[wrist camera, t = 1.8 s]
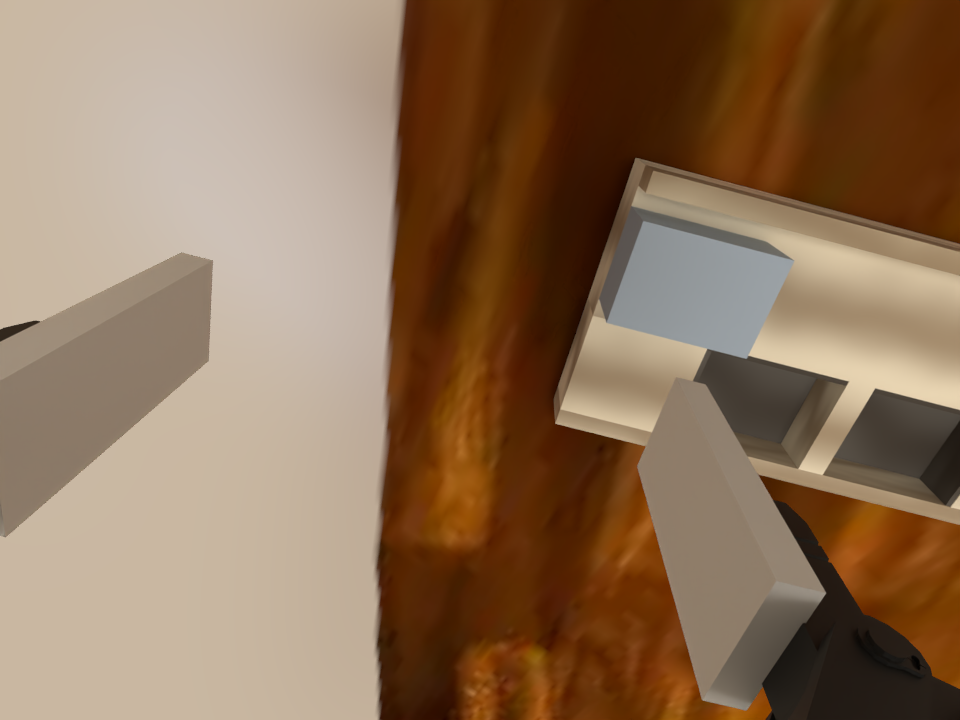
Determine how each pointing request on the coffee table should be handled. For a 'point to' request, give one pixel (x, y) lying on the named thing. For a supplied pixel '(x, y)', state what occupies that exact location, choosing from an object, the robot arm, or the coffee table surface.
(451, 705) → the coffee table surface
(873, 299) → the box
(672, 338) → the block
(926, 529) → the coffee table surface
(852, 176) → the coffee table surface
